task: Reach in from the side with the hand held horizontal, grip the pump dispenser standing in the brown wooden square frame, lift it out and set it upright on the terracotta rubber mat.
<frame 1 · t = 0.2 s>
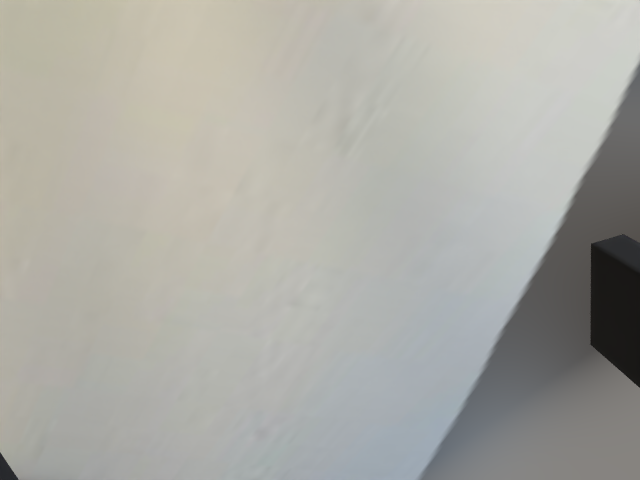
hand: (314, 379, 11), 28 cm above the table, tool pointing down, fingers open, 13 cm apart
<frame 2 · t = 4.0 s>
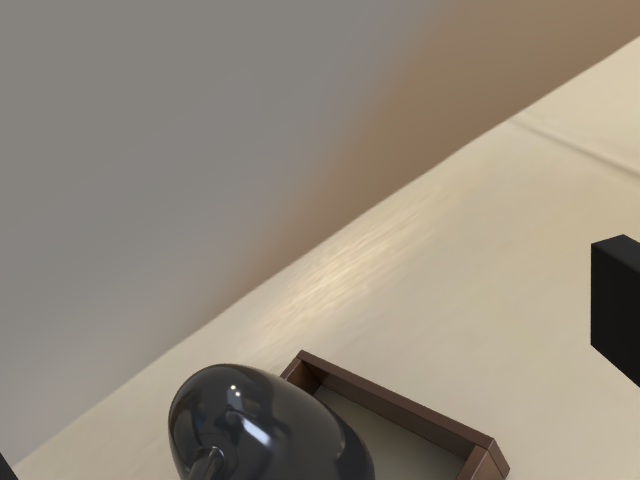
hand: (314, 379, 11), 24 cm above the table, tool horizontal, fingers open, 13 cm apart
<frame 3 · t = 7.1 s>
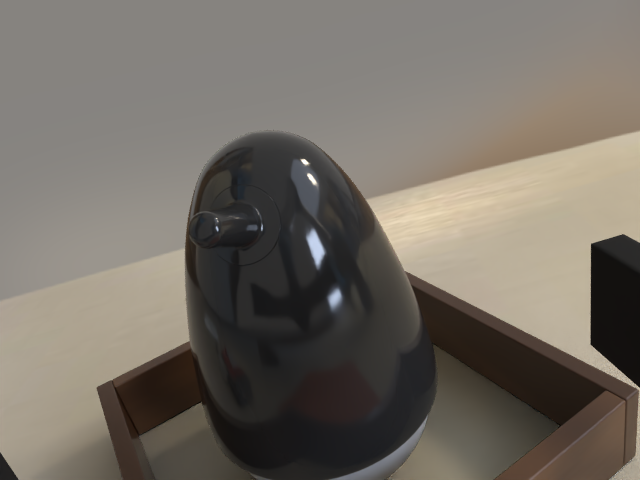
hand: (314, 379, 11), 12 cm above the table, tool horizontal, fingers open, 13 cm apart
pump dispenser: (339, 446, 25), resting in brown wooden square frame
brown wooden square frame: (338, 443, 25), on the table
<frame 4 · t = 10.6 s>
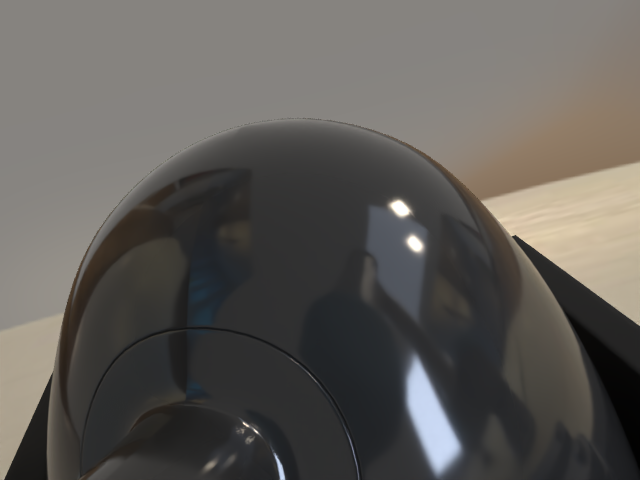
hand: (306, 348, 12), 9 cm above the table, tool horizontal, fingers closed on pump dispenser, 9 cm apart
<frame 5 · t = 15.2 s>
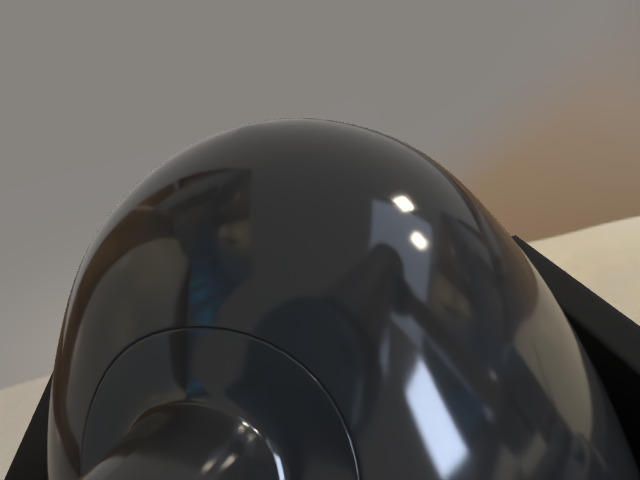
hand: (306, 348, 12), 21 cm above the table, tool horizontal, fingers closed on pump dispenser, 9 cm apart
when the fingers open (9 cm above the table, at t = 20.0 s): pump dispenser stays where it is, resting on mat.
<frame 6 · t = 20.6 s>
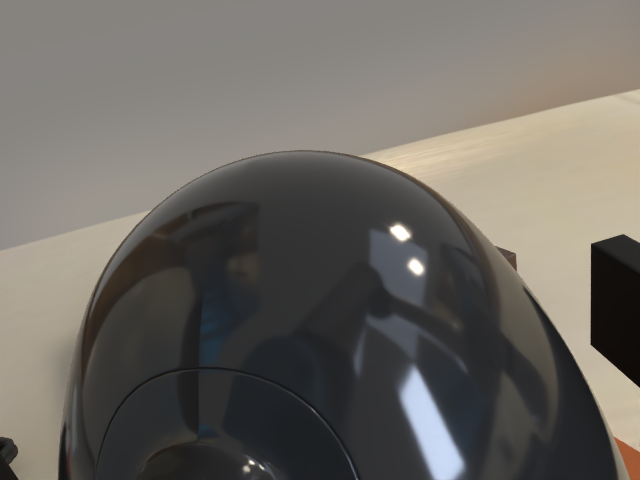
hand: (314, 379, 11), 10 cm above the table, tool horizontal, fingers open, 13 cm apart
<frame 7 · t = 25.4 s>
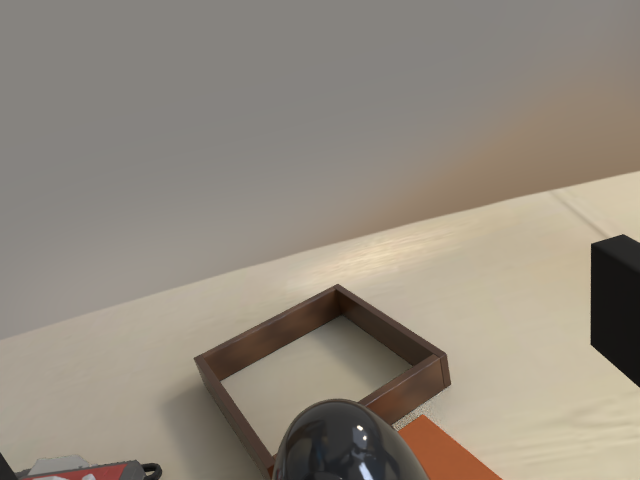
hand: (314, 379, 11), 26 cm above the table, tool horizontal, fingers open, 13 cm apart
brown wooden square frame: (318, 384, 50), on the table
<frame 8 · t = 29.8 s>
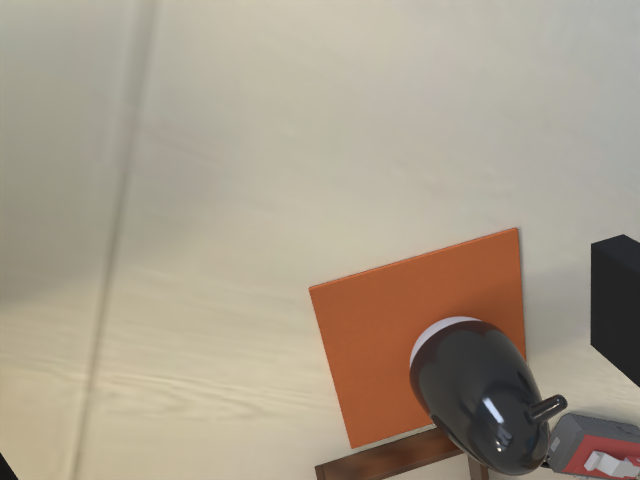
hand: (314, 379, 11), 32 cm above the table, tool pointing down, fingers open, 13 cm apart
pump dispenser: (445, 343, 52), resting on mat
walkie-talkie: (602, 447, 63), on the table
mat: (427, 344, 52), on the table
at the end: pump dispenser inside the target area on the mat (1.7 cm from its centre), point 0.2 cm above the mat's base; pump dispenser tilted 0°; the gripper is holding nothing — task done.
